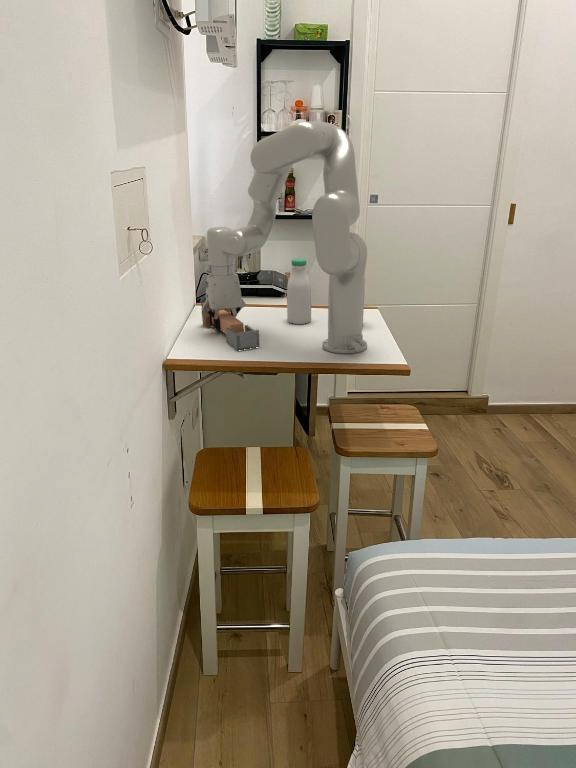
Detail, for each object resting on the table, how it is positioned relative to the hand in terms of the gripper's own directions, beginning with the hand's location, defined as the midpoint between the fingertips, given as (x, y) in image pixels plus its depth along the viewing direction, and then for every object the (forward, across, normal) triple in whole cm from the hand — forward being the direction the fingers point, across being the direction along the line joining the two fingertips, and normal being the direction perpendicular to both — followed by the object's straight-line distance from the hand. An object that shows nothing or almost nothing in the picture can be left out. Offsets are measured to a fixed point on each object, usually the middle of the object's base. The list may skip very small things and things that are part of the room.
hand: (225, 328), depth 187 cm
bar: (0, 0, -1) cm, 1 cm away
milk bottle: (+1, +25, -1) cm, 25 cm away
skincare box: (+1, +37, -12) cm, 39 cm away
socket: (+1, 0, +8) cm, 8 cm away
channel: (+1, 0, -15) cm, 15 cm away
